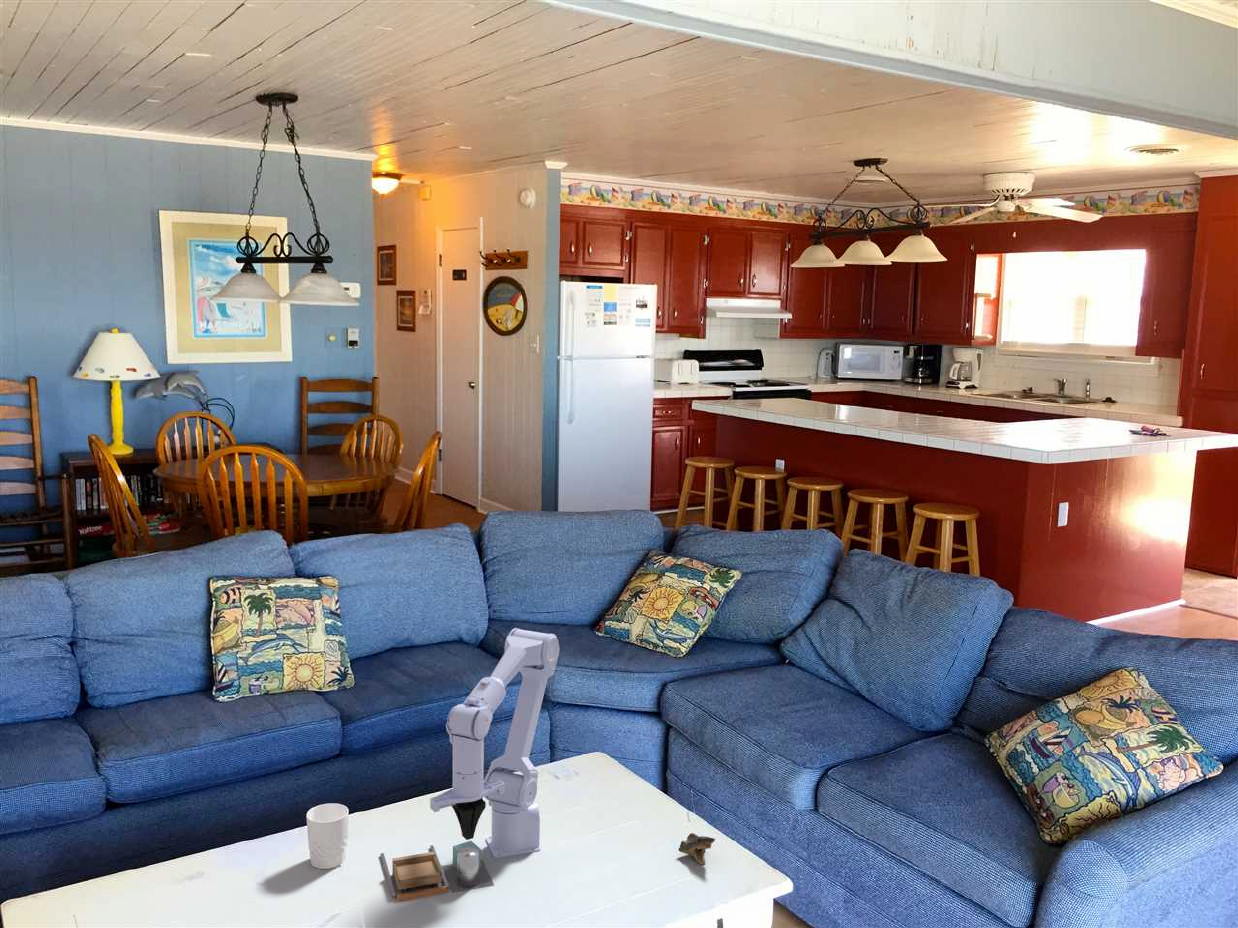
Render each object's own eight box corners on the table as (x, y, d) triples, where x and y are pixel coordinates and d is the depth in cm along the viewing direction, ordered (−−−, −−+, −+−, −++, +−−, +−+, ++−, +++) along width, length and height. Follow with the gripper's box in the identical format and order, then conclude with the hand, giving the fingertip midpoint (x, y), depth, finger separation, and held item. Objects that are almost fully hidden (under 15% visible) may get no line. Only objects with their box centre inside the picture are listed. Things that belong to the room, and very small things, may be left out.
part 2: (475, 875, 194) (476, 845, 193) (480, 885, 190) (480, 855, 189) (455, 878, 192) (455, 849, 191) (459, 889, 188) (459, 859, 188)
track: (432, 848, 204) (432, 843, 203) (450, 893, 188) (450, 887, 188) (380, 857, 200) (380, 851, 200) (393, 903, 184) (393, 897, 184)
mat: (481, 860, 200) (481, 858, 200) (494, 886, 190) (494, 884, 190) (441, 866, 197) (441, 865, 197) (452, 893, 188) (452, 892, 187)
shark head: (720, 870, 200) (728, 838, 199) (693, 871, 197) (700, 839, 196) (700, 847, 207) (708, 817, 206) (674, 849, 204) (681, 818, 203)
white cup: (337, 873, 194) (336, 824, 192) (299, 868, 195) (298, 819, 194) (355, 853, 201) (355, 805, 200) (319, 848, 203) (318, 801, 201)
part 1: (471, 859, 199) (471, 840, 199) (480, 868, 196) (480, 848, 196) (452, 865, 197) (452, 846, 196) (462, 874, 194) (462, 854, 193)
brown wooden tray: (434, 868, 196) (434, 851, 196) (441, 888, 189) (441, 870, 189) (392, 875, 193) (392, 858, 193) (398, 896, 186) (398, 878, 186)
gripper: (492, 751, 196) (491, 818, 197) (422, 769, 187) (423, 838, 189) (510, 765, 190) (509, 833, 192) (439, 783, 181) (439, 854, 183)
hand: (467, 836), depth 190 cm, fingers closed
